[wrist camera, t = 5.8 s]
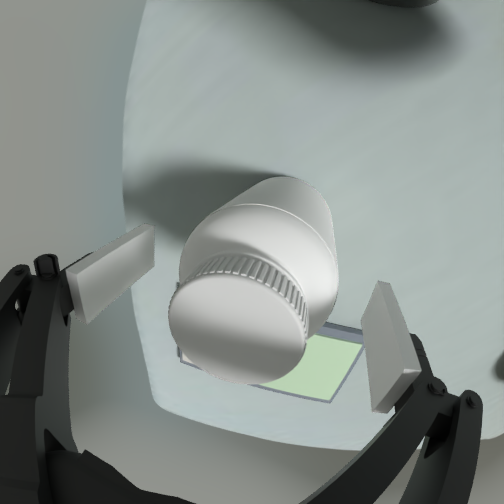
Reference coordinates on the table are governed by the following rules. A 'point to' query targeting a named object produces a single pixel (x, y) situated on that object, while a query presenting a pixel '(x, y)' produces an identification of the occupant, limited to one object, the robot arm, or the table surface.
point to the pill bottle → (256, 282)
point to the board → (318, 364)
